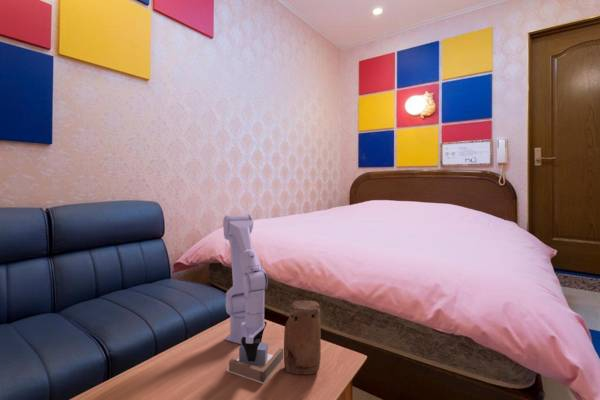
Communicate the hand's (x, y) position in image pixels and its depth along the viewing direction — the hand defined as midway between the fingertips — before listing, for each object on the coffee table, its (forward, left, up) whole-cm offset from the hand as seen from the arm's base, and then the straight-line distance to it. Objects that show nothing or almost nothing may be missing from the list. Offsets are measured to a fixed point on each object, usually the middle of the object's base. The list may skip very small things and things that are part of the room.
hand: (254, 353), depth 89 cm
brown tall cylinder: (-4, +14, -3) cm, 15 cm away
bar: (0, 0, -3) cm, 3 cm away
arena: (+1, +1, -3) cm, 3 cm away
